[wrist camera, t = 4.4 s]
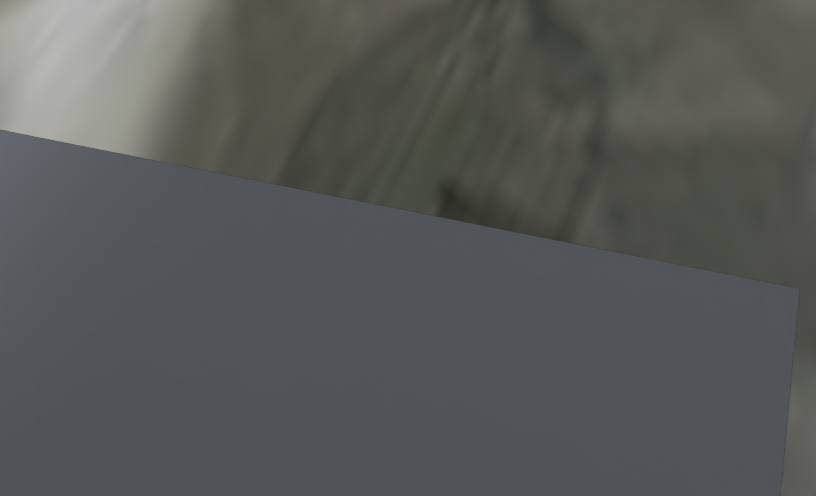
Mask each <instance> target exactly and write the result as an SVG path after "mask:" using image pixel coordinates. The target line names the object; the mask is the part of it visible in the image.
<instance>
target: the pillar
mask: <svg viewBox="0 0 816 496" xmlns="http://www.w3.org/2000/svg"><path fill="white" fill-rule="evenodd" d="M799 292H800V289H798V288H793V287H788V286H783V285H778V284H773V283H768V282H763V281H758V280H753V279H748V278H743V277H738V276H733V275H728V274H723V273H718V272H713V271H708V270H703V269H698V268H693V267H688V266H683V265H678V264H673V263H668V262H663V261H658V260H653V259H648V258H643V257H638V256H633V255H627V254H622V253H617V252H612V251H607V250H602V249H597V248H592V247H587V246H582V245H577V244H572V243H567V242H562V241H557V240H552V239H547V238H542V237H537V236H532V235H527V234H522V233H517V232H512V231H507V230H502V229H497V228H492V227H487V226H482V225H477V224H472V223H467V222H462V221H457V220H452V219H447V218H441V217H436V216H431V215H426V214H421V213H416V212H411V211H406V210H401V209H396V208H391V207H386V206H381V205H376V204H371V203H366V202H361V201H356V200H351V199H346V198H341V197H336V196H331V195H326V194H321V193H316V192H311V191H306V190H301V189H296V188H291V187H286V186H281V185H276V184H271V183H266V182H261V181H255V180H250V179H245V178H240V177H235V176H230V175H225V174H220V173H215V172H210V171H205V170H200V169H195V168H190V167H185V166H180V165H175V164H170V163H165V162H160V161H155V160H150V159H145V158H140V157H135V156H130V155H125V154H120V153H115V152H110V151H105V150H100V149H95V148H90V147H85V146H80V145H75V144H70V143H64V142H59V141H54V140H49V139H44V138H39V137H34V136H29V135H24V134H19V133H14V132H9V131H4V130H0V496H780V495H781V485H782V474H783V463H784V452H785V442H786V431H787V420H788V410H789V399H790V388H791V377H792V367H793V356H794V345H795V335H796V324H797V313H798V303H799Z"/></svg>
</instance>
